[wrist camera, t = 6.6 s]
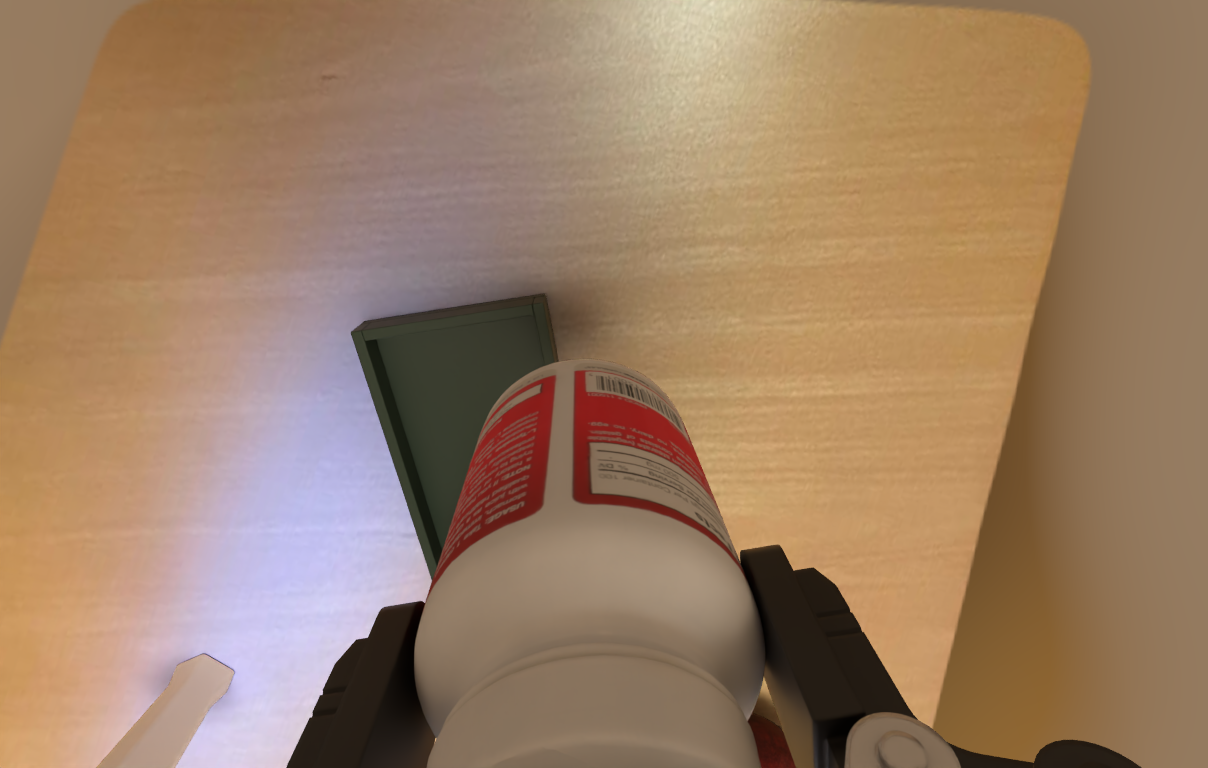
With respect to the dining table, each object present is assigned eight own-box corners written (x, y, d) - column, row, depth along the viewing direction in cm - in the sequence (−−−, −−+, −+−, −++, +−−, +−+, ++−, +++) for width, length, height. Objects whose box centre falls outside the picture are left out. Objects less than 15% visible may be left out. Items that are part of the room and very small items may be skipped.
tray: (476, 676, 42) (471, 701, 40) (363, 321, 32) (349, 332, 30) (614, 656, 42) (615, 680, 40) (545, 293, 32) (543, 302, 30)
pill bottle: (503, 542, 19) (412, 1022, 8) (461, 367, 16) (266, 735, 6) (692, 517, 19) (834, 970, 8) (678, 338, 16) (852, 660, 6)
